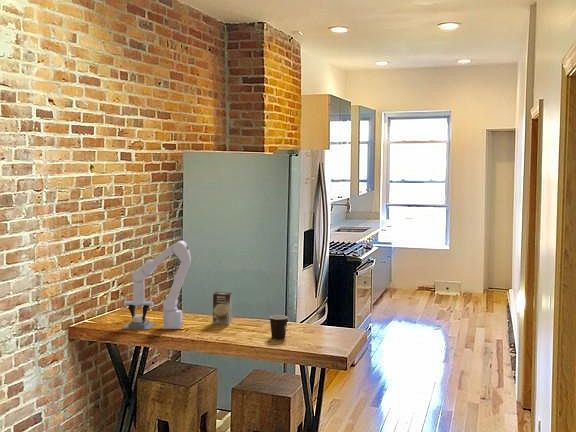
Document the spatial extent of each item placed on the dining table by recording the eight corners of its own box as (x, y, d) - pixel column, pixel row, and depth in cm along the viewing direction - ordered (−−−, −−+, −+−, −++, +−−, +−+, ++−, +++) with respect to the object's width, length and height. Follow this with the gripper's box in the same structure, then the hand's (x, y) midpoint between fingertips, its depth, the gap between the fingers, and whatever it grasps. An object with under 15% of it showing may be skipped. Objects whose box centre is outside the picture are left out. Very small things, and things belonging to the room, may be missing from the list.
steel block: (141, 326, 329) (141, 317, 328) (132, 326, 329) (132, 316, 328) (144, 323, 336) (144, 314, 335) (136, 323, 336) (136, 313, 335)
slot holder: (155, 323, 338) (155, 318, 338) (149, 330, 325) (150, 325, 325) (128, 323, 338) (128, 318, 338) (121, 329, 325) (121, 324, 325)
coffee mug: (277, 334, 322) (277, 314, 321) (290, 337, 316) (291, 317, 316) (261, 338, 313) (261, 318, 312) (275, 342, 308) (275, 321, 307)
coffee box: (211, 324, 339) (212, 293, 338) (214, 321, 345) (214, 291, 344) (229, 325, 338) (229, 294, 337) (231, 322, 344) (232, 292, 343)
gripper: (154, 292, 334) (154, 318, 336) (126, 291, 335) (126, 317, 336) (152, 294, 327) (151, 321, 329) (123, 294, 327) (123, 320, 329)
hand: (138, 319), depth 332 cm, fingers closed on steel block, 4 cm apart
